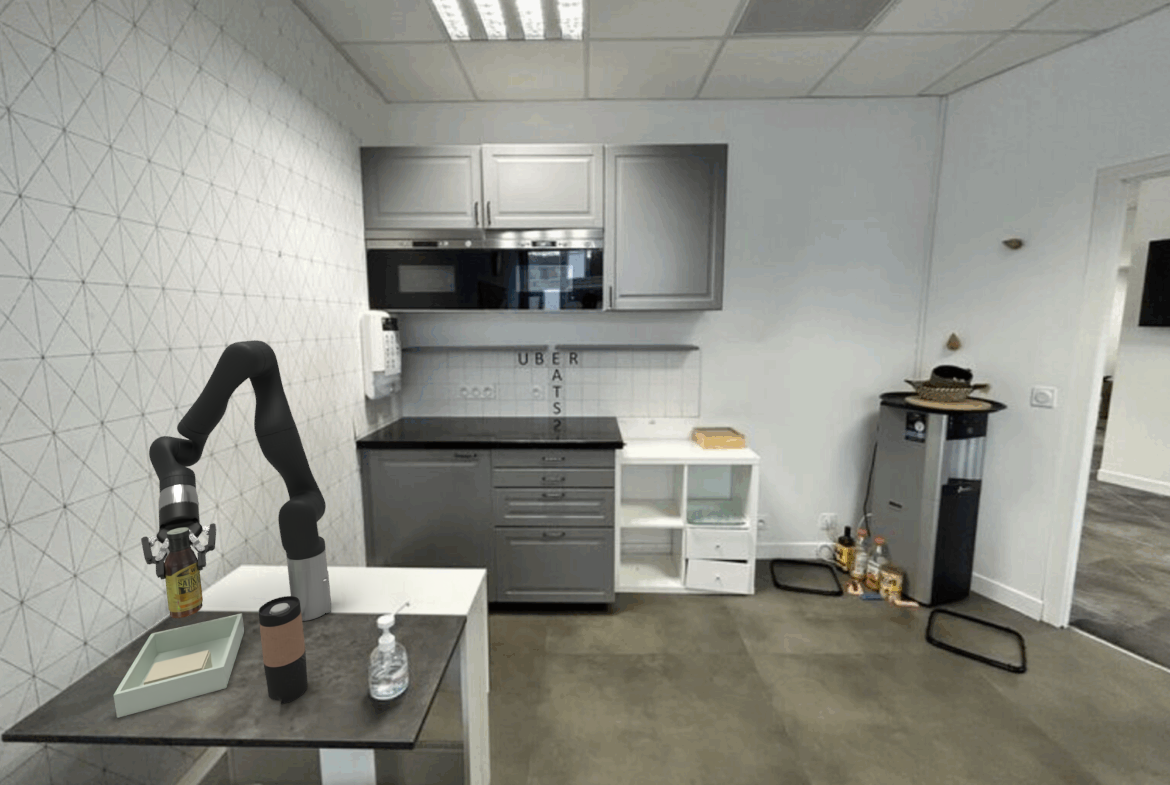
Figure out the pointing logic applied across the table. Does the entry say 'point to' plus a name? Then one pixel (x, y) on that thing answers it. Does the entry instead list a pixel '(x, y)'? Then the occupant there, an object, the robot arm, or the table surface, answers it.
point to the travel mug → (283, 648)
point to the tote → (179, 642)
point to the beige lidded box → (179, 666)
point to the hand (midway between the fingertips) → (182, 573)
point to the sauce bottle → (182, 575)
